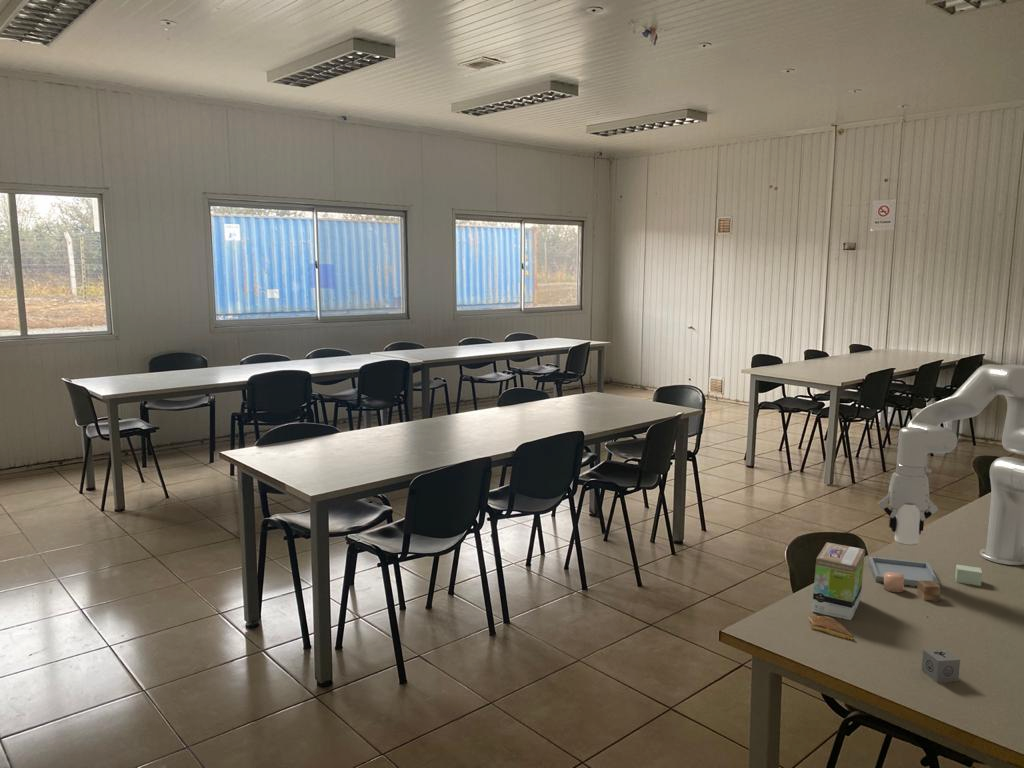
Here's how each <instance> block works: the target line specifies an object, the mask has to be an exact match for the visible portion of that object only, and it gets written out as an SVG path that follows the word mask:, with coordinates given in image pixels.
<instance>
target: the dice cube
mask: <svg viewBox="0 0 1024 768" xmlns="http://www.w3.org/2000/svg"><path fill="white" fill-rule="evenodd" d="M960 667H961V659H960V658H958V657H957V656H955V655H954V654H953V653H951V652H950V651H949V650H948V649H946V648H931V649H930V648H929V649H923V650H922V660H921V670H922V671H923V672H922V671H921V672H922V673H924V674H925V675H926V674H927V675H928V677H929V678H930V679H931V678H932V679H931V680H933V681H934V682H935V683H936V682H939V683H950V682H951V683H953V682H952V681H955V682H959V677H960ZM927 675H926V676H927Z"/></svg>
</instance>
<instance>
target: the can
mask: <svg viewBox="0 0 1024 768" xmlns="http://www.w3.org/2000/svg"><path fill="white" fill-rule="evenodd" d="M915 505H916V504H904V505H903V506H902V507H901V508H900V509H898V511H897V513H896V515H895V518H896V531H895V532H894V541H895V542H896V543H897V544H899V545H905V546H916V545H918V544H919V543H920V542H921V534H919V524H920V511H919V509H918V508H917V507H916V506H915Z"/></svg>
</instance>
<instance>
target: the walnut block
mask: <svg viewBox="0 0 1024 768" xmlns="http://www.w3.org/2000/svg"><path fill="white" fill-rule="evenodd" d="M916 590H917V591H916V592H917V593H916V595H917V594H918V595H919V596H918V595H917V596H918V597H919V598H920V599H921V600H922V601H925V600H933V601H932V602H935V601H936V602H940V598H941V586H939V585H938V584H936V583H935V582H934V581H918V587H917V589H916Z"/></svg>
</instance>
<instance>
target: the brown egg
mask: <svg viewBox="0 0 1024 768" xmlns="http://www.w3.org/2000/svg"><path fill="white" fill-rule="evenodd" d="M883 589H884V590H885V589H886V591H888V592H892V593H903V592H905V591H904V590H905V585H904V575H903V574H900V573H896V572H886V573H884V583H883Z"/></svg>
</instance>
